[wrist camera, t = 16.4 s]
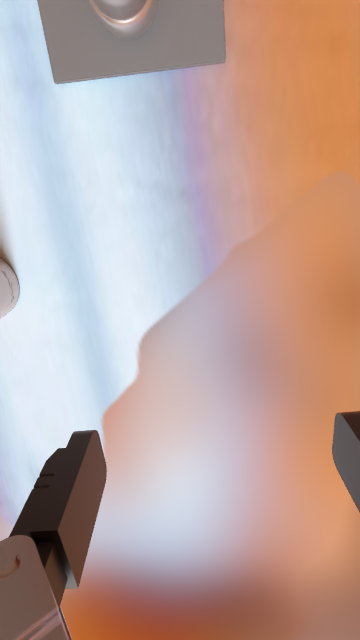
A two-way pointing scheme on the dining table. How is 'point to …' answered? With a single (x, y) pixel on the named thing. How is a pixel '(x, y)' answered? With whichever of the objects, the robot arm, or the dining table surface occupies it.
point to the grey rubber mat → (131, 40)
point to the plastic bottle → (125, 16)
